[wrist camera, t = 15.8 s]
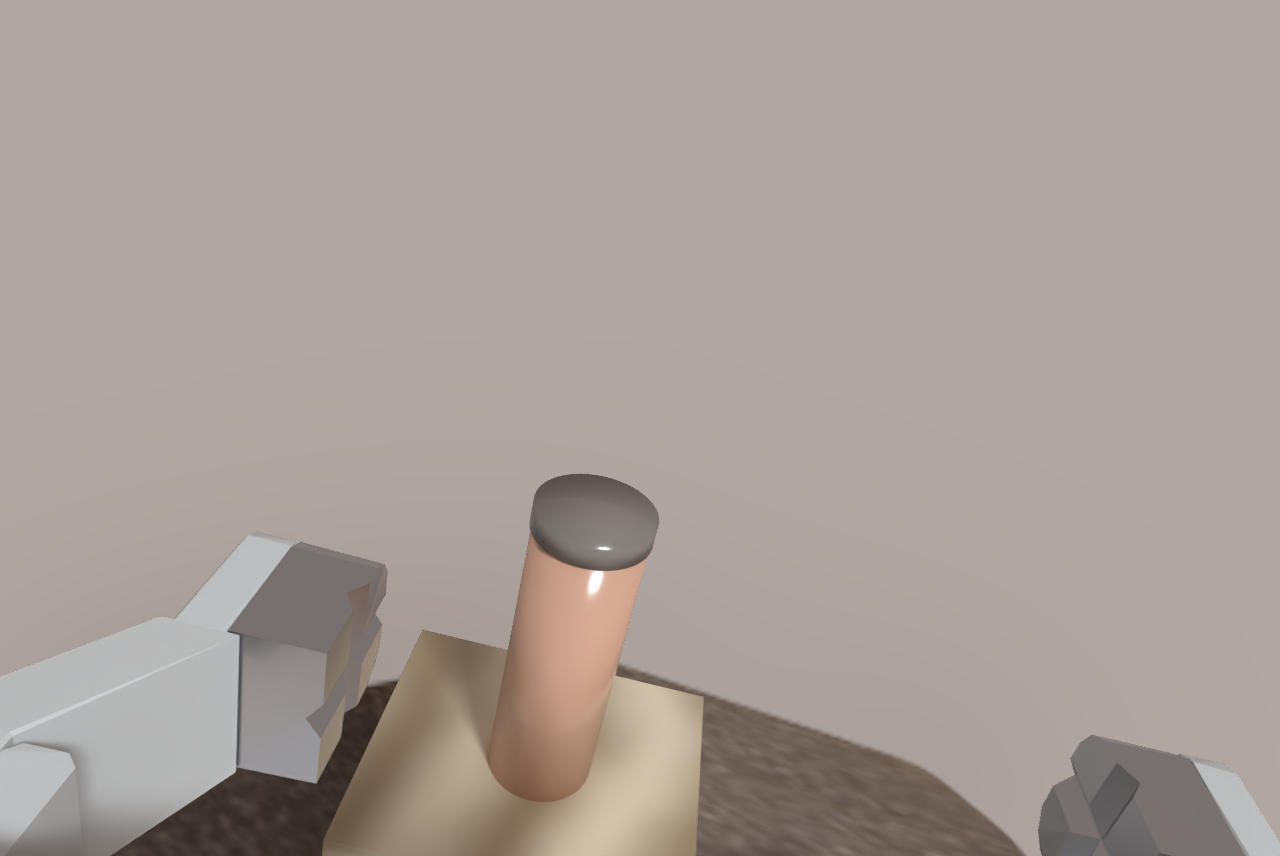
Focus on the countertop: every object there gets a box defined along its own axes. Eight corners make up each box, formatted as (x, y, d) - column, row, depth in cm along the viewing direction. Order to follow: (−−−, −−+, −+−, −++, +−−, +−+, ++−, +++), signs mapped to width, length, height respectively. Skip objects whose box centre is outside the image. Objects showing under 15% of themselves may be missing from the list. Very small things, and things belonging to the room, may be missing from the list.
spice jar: (473, 790, 37) (522, 530, 31) (498, 707, 41) (545, 463, 35) (584, 814, 37) (654, 559, 31) (598, 730, 41) (662, 489, 35)
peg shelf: (309, 996, 39) (323, 839, 34) (402, 772, 49) (422, 629, 45) (634, 1072, 39) (692, 926, 34) (656, 832, 49) (703, 697, 45)
